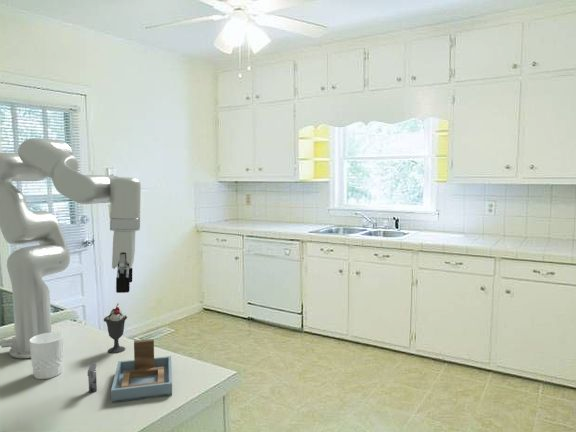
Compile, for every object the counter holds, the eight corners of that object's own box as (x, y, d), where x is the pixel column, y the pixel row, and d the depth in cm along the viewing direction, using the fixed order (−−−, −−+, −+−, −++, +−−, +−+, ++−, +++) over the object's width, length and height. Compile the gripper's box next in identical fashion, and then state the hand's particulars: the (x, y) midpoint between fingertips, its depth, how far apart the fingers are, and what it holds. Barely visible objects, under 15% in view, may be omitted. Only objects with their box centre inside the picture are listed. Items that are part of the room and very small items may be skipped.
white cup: (71, 369, 119) (69, 334, 118) (46, 382, 111) (45, 345, 110) (49, 365, 121) (47, 330, 120) (24, 377, 114) (22, 341, 113)
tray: (111, 402, 102) (111, 390, 102) (118, 372, 118) (118, 361, 117) (172, 395, 106) (171, 383, 105) (171, 366, 121) (171, 356, 121)
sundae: (120, 355, 128) (118, 306, 127) (100, 353, 130) (98, 304, 128) (132, 346, 135) (131, 299, 133) (113, 344, 136) (111, 298, 135)
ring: (125, 372, 116) (124, 341, 116) (163, 367, 119) (163, 337, 118) (121, 394, 104) (120, 361, 104) (164, 389, 107) (163, 356, 106)
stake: (87, 396, 105) (86, 371, 104) (90, 386, 110) (89, 362, 109) (95, 395, 105) (94, 370, 105) (98, 385, 110) (97, 362, 109)
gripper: (113, 219, 122) (113, 278, 124) (105, 229, 105) (105, 297, 107) (141, 220, 124) (141, 278, 126) (138, 229, 108) (137, 296, 109)
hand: (124, 287), depth 117 cm, fingers open, 9 cm apart
